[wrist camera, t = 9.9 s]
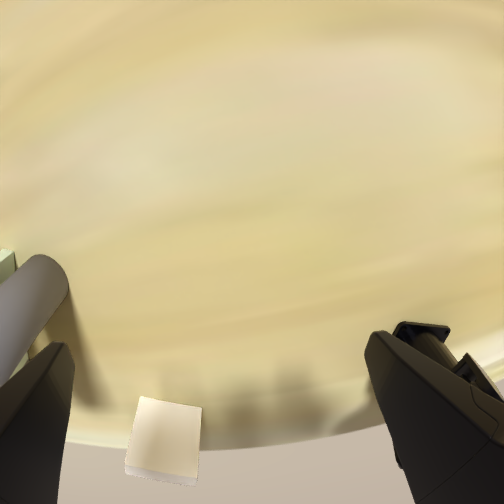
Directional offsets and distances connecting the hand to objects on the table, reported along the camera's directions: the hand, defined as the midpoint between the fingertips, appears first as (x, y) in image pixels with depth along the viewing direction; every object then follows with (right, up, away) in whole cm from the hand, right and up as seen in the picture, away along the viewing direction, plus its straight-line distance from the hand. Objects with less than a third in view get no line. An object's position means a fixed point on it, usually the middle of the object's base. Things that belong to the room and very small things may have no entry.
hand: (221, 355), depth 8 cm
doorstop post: (-16, +1, +13) cm, 20 cm away
